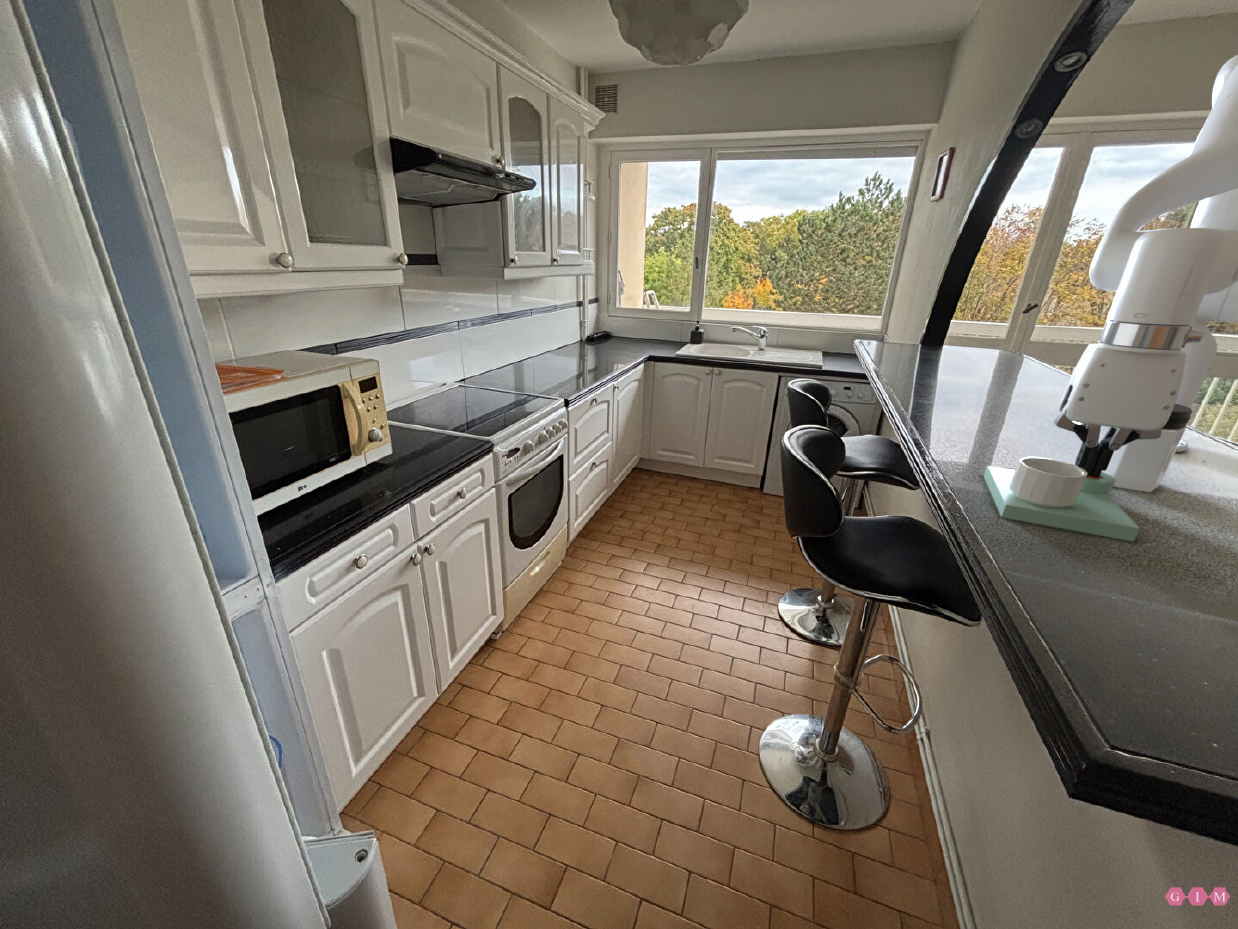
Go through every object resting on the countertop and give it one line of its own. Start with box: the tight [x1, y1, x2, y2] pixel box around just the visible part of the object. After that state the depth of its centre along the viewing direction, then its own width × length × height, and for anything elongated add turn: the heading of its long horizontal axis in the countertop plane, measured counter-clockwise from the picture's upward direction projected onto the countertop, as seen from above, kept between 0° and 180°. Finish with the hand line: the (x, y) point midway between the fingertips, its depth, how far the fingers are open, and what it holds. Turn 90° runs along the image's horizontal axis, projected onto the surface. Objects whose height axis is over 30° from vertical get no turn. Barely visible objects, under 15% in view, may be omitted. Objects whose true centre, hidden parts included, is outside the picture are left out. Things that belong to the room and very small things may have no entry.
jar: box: [1098, 404, 1193, 493], centre depth 75 cm, size 9×8×12 cm
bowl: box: [1010, 456, 1088, 508], centre depth 65 cm, size 7×7×4 cm
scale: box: [983, 465, 1141, 543], centre depth 68 cm, size 16×14×4 cm
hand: (1087, 473), depth 70 cm, fingers closed
